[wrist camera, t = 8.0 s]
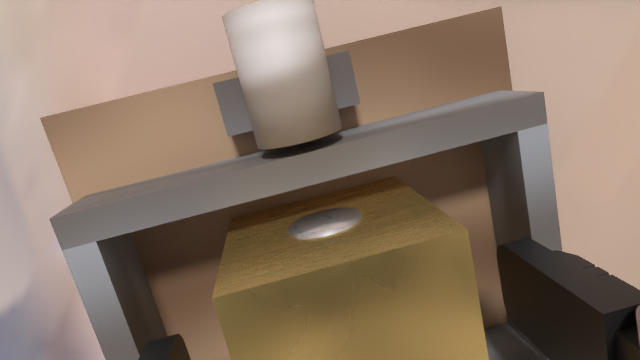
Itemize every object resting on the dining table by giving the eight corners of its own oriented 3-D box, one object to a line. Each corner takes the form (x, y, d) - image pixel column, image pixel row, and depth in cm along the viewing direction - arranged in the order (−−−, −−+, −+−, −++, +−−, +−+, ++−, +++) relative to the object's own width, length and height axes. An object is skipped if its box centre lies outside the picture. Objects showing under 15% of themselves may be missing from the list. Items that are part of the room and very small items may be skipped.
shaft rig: (538, 394, 17) (606, 472, 14) (199, 496, 16) (183, 605, 13) (478, -30, 14) (550, -67, 10) (40, 73, 13) (-41, 70, 9)
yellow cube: (424, 323, 15) (502, 442, 10) (274, 365, 14) (279, 510, 10) (394, 174, 14) (467, 226, 9) (230, 217, 13) (210, 296, 8)
